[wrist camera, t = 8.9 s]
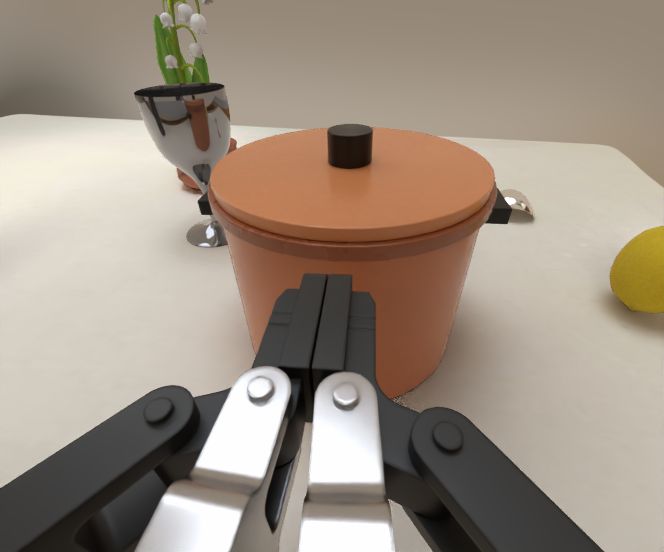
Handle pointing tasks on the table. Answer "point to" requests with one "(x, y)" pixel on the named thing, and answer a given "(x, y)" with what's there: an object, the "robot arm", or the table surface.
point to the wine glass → (190, 137)
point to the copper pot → (359, 229)
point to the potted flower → (173, 60)
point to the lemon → (641, 272)
